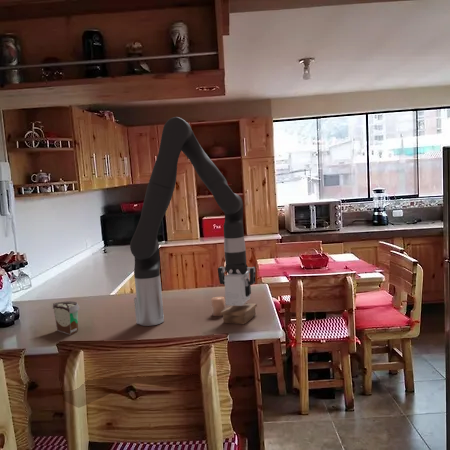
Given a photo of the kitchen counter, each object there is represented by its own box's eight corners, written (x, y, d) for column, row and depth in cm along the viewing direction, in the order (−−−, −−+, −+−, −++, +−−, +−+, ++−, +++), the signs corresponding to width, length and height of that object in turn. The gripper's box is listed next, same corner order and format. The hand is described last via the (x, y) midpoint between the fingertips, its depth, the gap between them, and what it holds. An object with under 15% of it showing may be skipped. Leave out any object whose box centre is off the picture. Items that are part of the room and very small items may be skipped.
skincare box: (243, 306, 168) (240, 276, 167) (225, 305, 170) (223, 276, 169) (251, 298, 178) (249, 270, 177) (234, 297, 180) (232, 270, 179)
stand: (221, 323, 171) (221, 312, 171) (234, 313, 182) (233, 302, 182) (245, 324, 168) (244, 313, 167) (257, 314, 179) (256, 303, 178)
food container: (88, 330, 174) (85, 303, 173) (73, 335, 169) (70, 307, 168) (70, 325, 182) (67, 299, 181) (55, 330, 177) (52, 303, 176)
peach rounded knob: (210, 316, 181) (209, 300, 180) (214, 311, 186) (213, 296, 185) (223, 316, 179) (222, 300, 179) (227, 311, 184) (226, 296, 183)
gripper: (257, 247, 173) (260, 293, 175) (220, 248, 179) (224, 292, 180) (250, 251, 166) (253, 299, 168) (212, 251, 172) (215, 297, 174)
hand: (238, 295), depth 174 cm, fingers closed on skincare box, 6 cm apart
